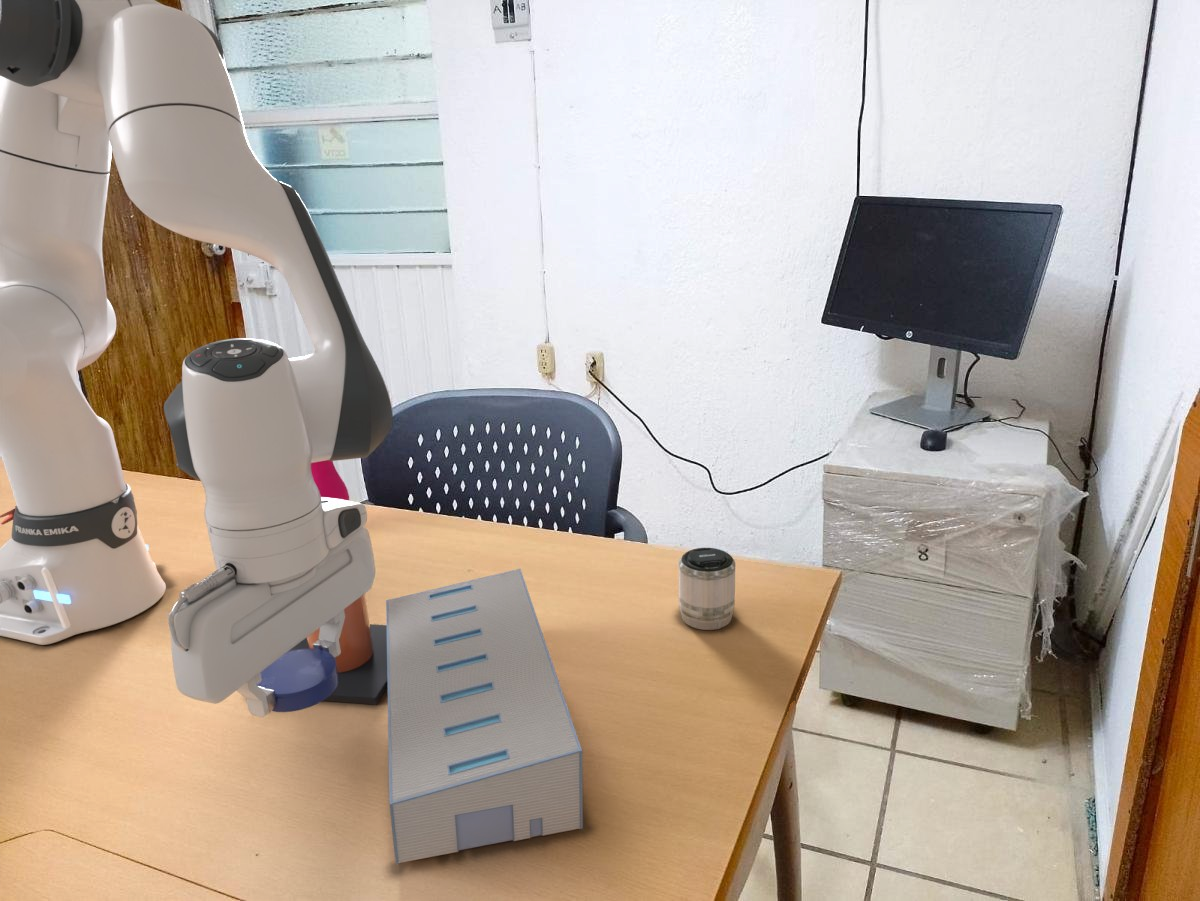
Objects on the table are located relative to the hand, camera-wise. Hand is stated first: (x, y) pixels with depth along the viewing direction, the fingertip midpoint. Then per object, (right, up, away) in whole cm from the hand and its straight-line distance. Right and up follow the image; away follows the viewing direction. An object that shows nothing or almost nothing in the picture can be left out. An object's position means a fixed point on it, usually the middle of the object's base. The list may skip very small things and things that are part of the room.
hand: (298, 683), depth 73 cm
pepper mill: (-14, +9, +49) cm, 52 cm away
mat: (-1, -2, +16) cm, 16 cm away
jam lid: (0, +1, 0) cm, 1 cm away
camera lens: (+39, +1, +22) cm, 44 cm away
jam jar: (-1, -1, +15) cm, 16 cm away
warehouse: (+14, -5, +5) cm, 16 cm away
